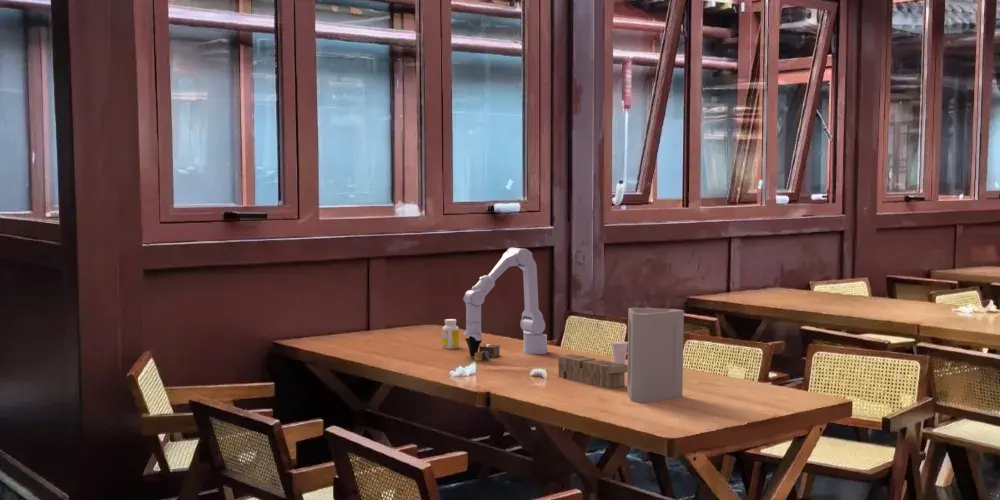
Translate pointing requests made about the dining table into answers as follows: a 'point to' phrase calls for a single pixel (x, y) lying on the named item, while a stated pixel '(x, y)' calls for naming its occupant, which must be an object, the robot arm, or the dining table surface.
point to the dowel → (486, 355)
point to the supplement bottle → (450, 334)
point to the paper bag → (655, 354)
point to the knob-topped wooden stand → (493, 351)
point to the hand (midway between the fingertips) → (473, 356)
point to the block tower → (592, 371)
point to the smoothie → (619, 351)
